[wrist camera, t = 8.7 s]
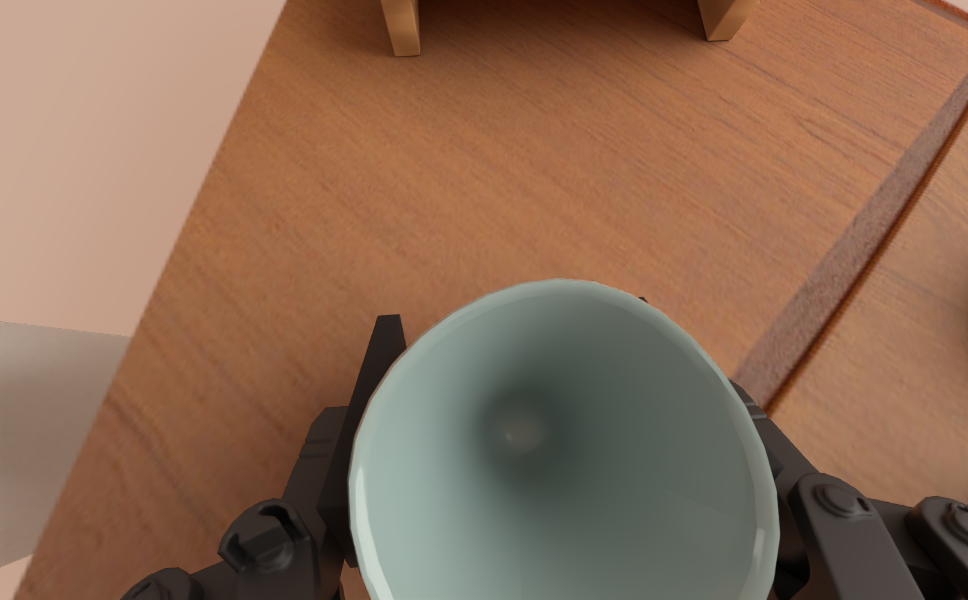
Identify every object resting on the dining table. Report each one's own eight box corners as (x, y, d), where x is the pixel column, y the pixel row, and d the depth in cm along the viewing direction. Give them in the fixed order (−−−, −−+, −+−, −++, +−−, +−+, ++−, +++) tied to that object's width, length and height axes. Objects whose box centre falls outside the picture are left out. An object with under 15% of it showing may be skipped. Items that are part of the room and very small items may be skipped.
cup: (631, 446, 16) (878, 557, 6) (486, 554, 15) (502, 892, 5) (533, 303, 17) (606, 207, 7) (393, 393, 16) (265, 418, 6)
